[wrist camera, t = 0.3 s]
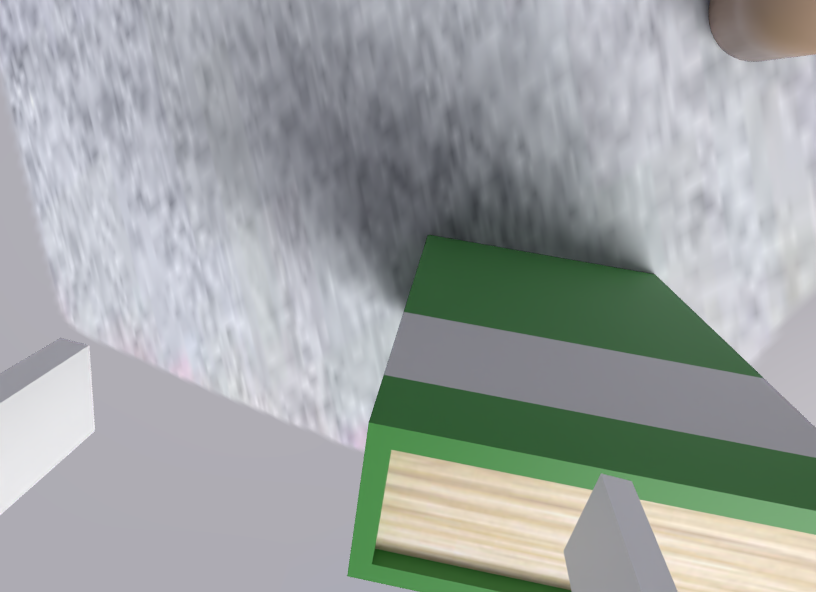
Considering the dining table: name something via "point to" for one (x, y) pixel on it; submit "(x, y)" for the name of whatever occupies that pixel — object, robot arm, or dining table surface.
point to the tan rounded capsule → (764, 28)
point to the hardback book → (573, 433)
